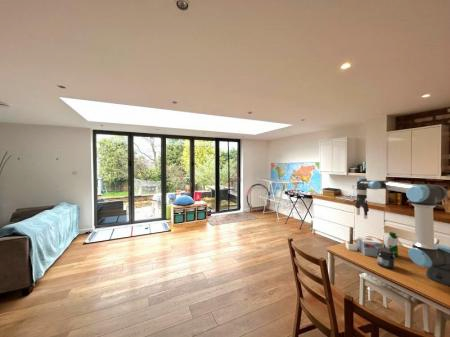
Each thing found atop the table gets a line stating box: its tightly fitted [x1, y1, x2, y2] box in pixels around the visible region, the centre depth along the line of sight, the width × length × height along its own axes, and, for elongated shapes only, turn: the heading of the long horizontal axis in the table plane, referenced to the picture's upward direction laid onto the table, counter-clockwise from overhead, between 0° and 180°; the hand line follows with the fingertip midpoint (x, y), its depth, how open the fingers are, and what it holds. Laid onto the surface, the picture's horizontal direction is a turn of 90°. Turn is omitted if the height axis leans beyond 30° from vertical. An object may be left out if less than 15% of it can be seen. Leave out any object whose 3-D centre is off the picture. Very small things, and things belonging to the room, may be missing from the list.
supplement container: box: [376, 247, 396, 270], centre depth 143 cm, size 10×10×12 cm
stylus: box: [349, 226, 354, 244], centre depth 173 cm, size 3×3×20 cm
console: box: [356, 236, 384, 258], centre depth 165 cm, size 16×14×12 cm
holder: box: [345, 241, 358, 251], centre depth 173 cm, size 7×7×5 cm
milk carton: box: [382, 231, 400, 258], centre depth 161 cm, size 9×9×20 cm
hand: (361, 216), depth 174 cm, fingers open, 13 cm apart
